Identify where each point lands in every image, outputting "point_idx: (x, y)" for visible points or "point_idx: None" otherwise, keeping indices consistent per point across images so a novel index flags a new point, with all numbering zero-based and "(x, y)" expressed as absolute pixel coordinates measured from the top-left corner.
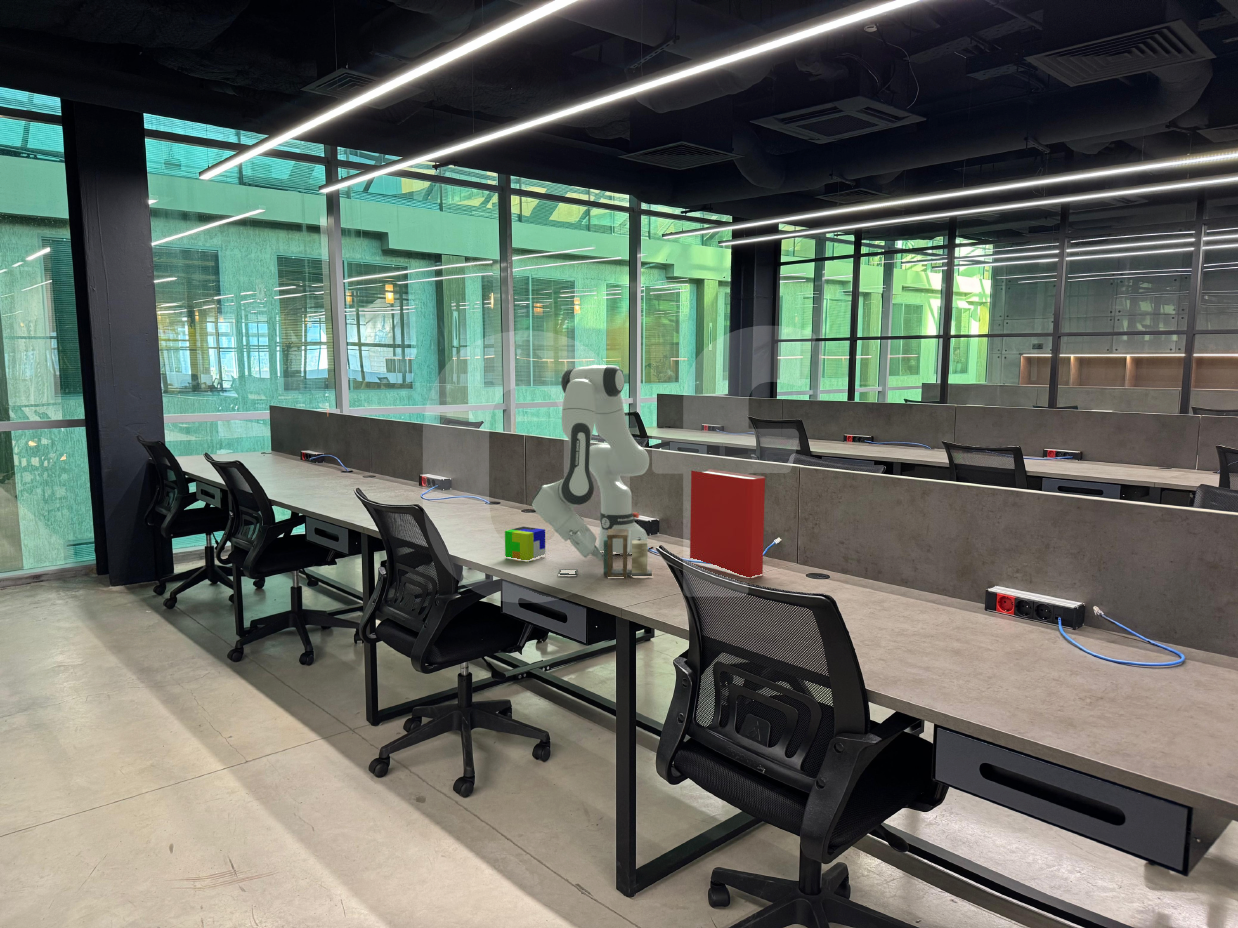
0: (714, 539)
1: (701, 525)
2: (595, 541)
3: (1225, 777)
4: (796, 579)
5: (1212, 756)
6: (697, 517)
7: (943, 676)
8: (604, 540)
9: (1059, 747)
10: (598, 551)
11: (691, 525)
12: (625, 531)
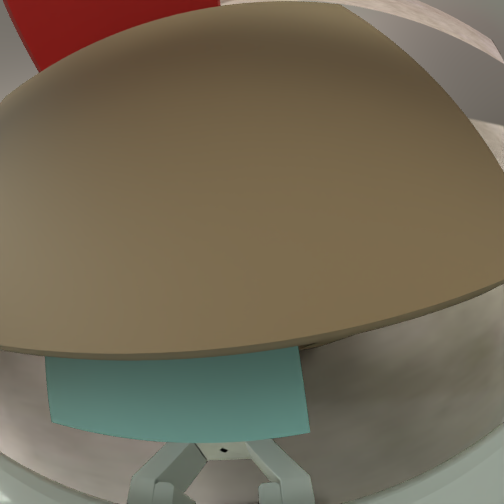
0: (125, 12)
1: (69, 15)
2: (86, 500)
3: (476, 30)
4: None
5: (464, 23)
6: (46, 9)
7: (461, 32)
8: (302, 411)
9: (494, 46)
10: (188, 454)
11: (33, 45)
12: (97, 48)
